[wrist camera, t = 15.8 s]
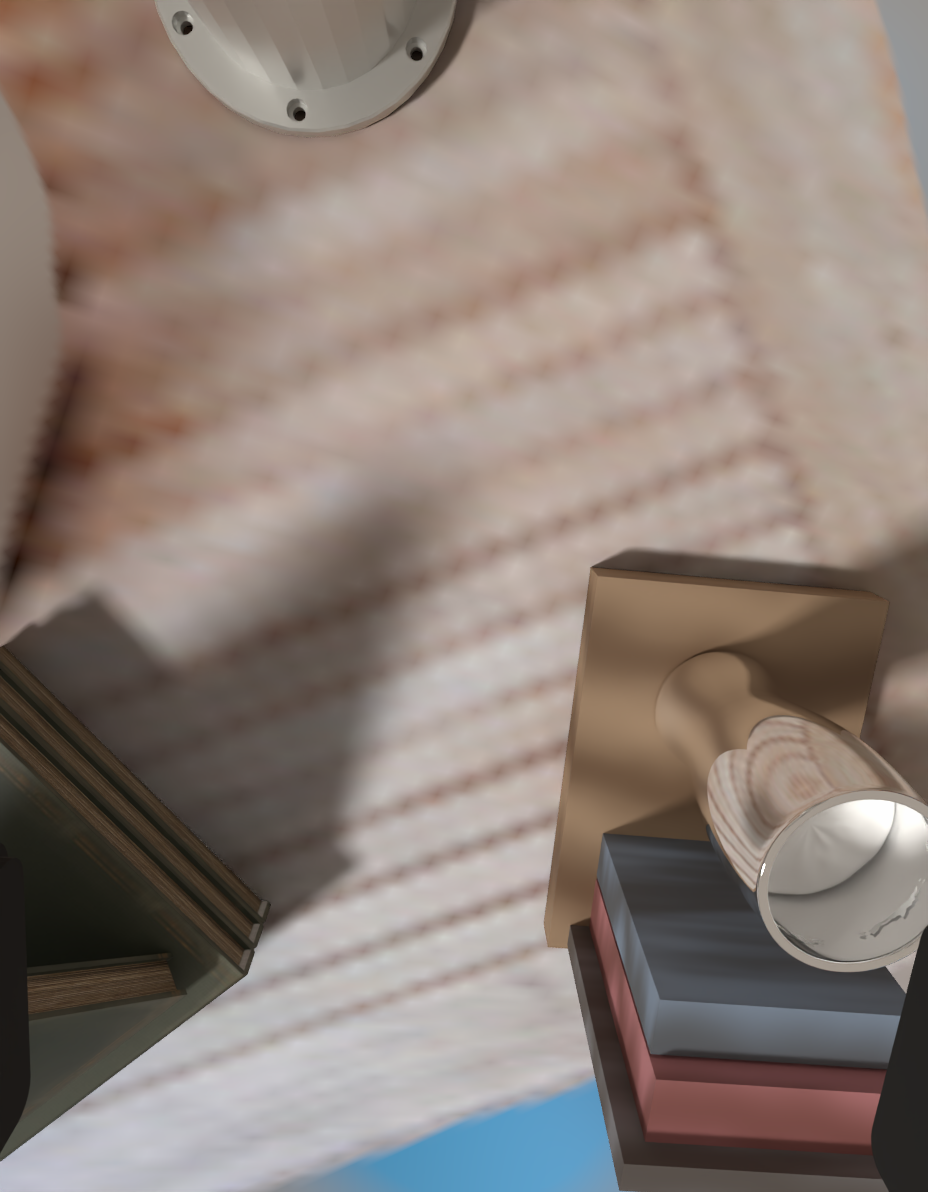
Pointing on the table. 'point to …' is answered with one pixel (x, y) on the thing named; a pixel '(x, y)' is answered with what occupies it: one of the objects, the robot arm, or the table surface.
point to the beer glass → (800, 815)
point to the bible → (105, 904)
